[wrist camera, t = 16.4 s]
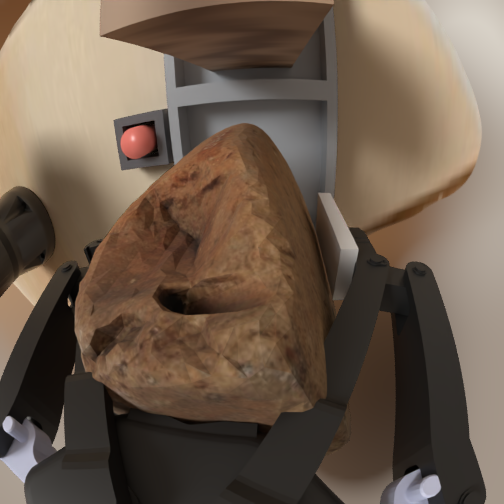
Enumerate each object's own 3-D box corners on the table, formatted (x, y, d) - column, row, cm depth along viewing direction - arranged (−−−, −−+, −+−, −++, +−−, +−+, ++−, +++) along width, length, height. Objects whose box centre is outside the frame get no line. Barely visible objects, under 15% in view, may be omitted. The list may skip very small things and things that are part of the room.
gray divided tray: (195, 226, 34) (187, 242, 30) (175, -19, 17) (163, -31, 13) (324, 225, 32) (329, 241, 29) (319, -28, 15) (325, -43, 12)
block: (314, 221, 24) (369, 458, 7) (239, 249, 26) (203, 473, 9) (264, 108, 19) (233, 182, 2) (183, 148, 21) (-10, 325, 4)
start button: (137, 153, 28) (123, 161, 25) (133, 126, 26) (118, 130, 23) (163, 149, 28) (151, 156, 25) (159, 121, 26) (146, 124, 23)
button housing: (133, 163, 30) (121, 170, 27) (126, 116, 26) (113, 120, 24) (177, 157, 29) (168, 164, 27) (172, 107, 26) (162, 109, 23)
